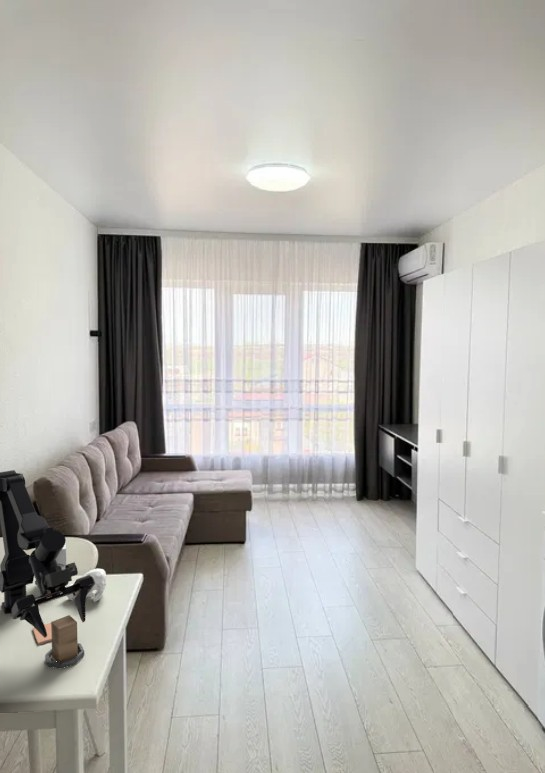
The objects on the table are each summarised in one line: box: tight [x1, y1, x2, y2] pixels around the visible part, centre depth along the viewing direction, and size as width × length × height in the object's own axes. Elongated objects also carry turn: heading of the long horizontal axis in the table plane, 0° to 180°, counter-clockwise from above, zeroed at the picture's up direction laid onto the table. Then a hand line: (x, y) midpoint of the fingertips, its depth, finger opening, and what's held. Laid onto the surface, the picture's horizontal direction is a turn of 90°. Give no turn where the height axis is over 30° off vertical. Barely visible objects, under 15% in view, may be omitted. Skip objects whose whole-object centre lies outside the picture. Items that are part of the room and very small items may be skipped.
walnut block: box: [50, 614, 79, 662], centre depth 121 cm, size 4×4×9 cm
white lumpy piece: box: [66, 568, 107, 602], centre depth 149 cm, size 6×8×12 cm
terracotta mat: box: [32, 622, 52, 646], centre depth 131 cm, size 8×8×1 cm
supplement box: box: [56, 541, 68, 586], centre depth 157 cm, size 7×7×13 cm
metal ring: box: [44, 642, 85, 669], centre depth 121 cm, size 8×8×1 cm
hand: (65, 628), depth 120 cm, fingers open, 9 cm apart
